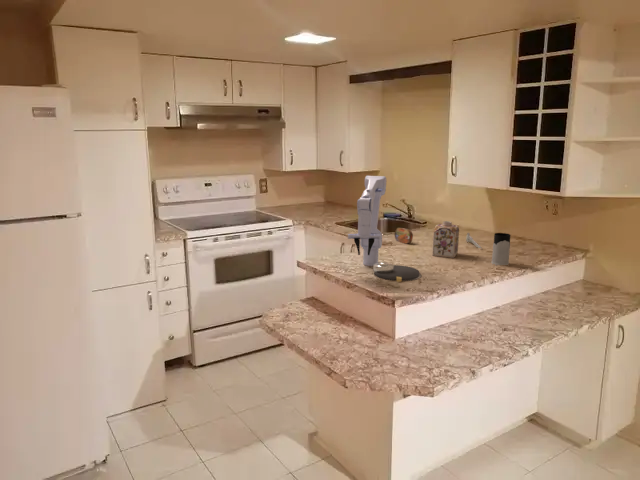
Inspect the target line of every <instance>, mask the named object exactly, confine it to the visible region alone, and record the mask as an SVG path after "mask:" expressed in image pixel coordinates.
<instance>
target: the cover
mask: <svg viewBox="0 0 640 480" xmlns="http://www.w3.org/2000/svg"><path fill="white" fill-rule="evenodd" d="M394 265H395V264H392V263H388V262H386V261H380V262H378V263H375V264H374V265H373V266H372V267H373V268H372V269H373V271H372V272H373V273H374V272H377V273H392V272H393V269H394Z"/></svg>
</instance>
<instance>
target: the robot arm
mask: <svg viewBox="0 0 640 480" xmlns="http://www.w3.org/2000/svg"><path fill="white" fill-rule="evenodd" d="M364 187H365V189H364V190H363V192H362V194H361V197H359V198H358V199H357V202H356V207H357V208H356V209H357V215H358V217H357V218H358V220H357V221H358V222H357V233H347V239H348V240H353V239H354V240H353V241H354V243H355V246H356V250H357V255H358V256H360V255H361V253H360V252H361V250H360V249H361V248H362V250H363V256H362V257H363V258H362V259H363V262H362V265H364V266H368V267H373V265H374V264H375V263H379V250H380V249H381V248H382V245H383V233H382V232H381V230H379V229H378V222H379V214H380V206H381V205H380V204H381V199H382V196H384V195H385V194H386V191H387V177H386V176H385V175H366V176H365V177H364ZM360 247H361V248H360Z"/></svg>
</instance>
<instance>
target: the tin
mask: <svg viewBox="0 0 640 480" xmlns="http://www.w3.org/2000/svg"><path fill="white" fill-rule="evenodd" d="M413 238H414V234H413V232H412V230H410V229H408V228H403V227H396V229H395V230H394V239H395V241H397V243H398V242H399V243H402V244H407V245H408V244H410V243H412V241H413Z"/></svg>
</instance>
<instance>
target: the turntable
mask: <svg viewBox="0 0 640 480" xmlns="http://www.w3.org/2000/svg"><path fill="white" fill-rule="evenodd" d="M393 265H394V269H393V272H392V273H377V272H374V271H373V275H374V276H375V277H376V276H377V278H379V279H382V280H385V279H386V280H387V281H391V280H393V281H396V283H397V282H398V283H401V282H403V281H408V280H410V281H411V280H412V279H413V280H414V279H416V278H418V277H419V273H420V270H419V269H417V268H414V267H411V266H407V265H398V264H396V265H395V264H393ZM413 280H412V281H413ZM416 280H417V279H416Z"/></svg>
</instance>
